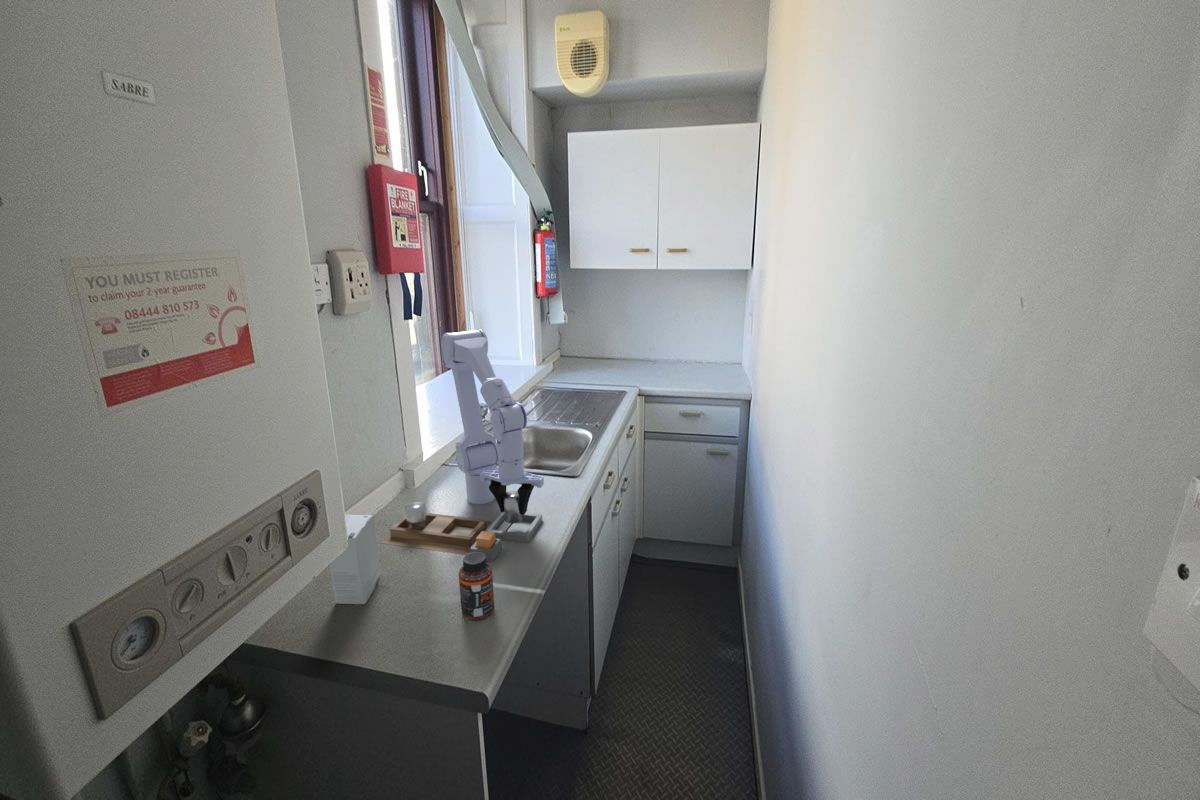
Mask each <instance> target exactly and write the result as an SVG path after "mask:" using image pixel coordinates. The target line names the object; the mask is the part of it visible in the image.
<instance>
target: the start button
mask: <svg viewBox="0 0 1200 800" xmlns="http://www.w3.org/2000/svg"><path fill="white" fill-rule="evenodd" d="M495 538H496V537H495V533H494V532H487V531H482V532H481V533H480V534H479V535H478V536H477V538H476V544H477V547H478V548H485V549H491V548H492V547H493V545H494V544H495V543H496V539H495Z"/></svg>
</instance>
